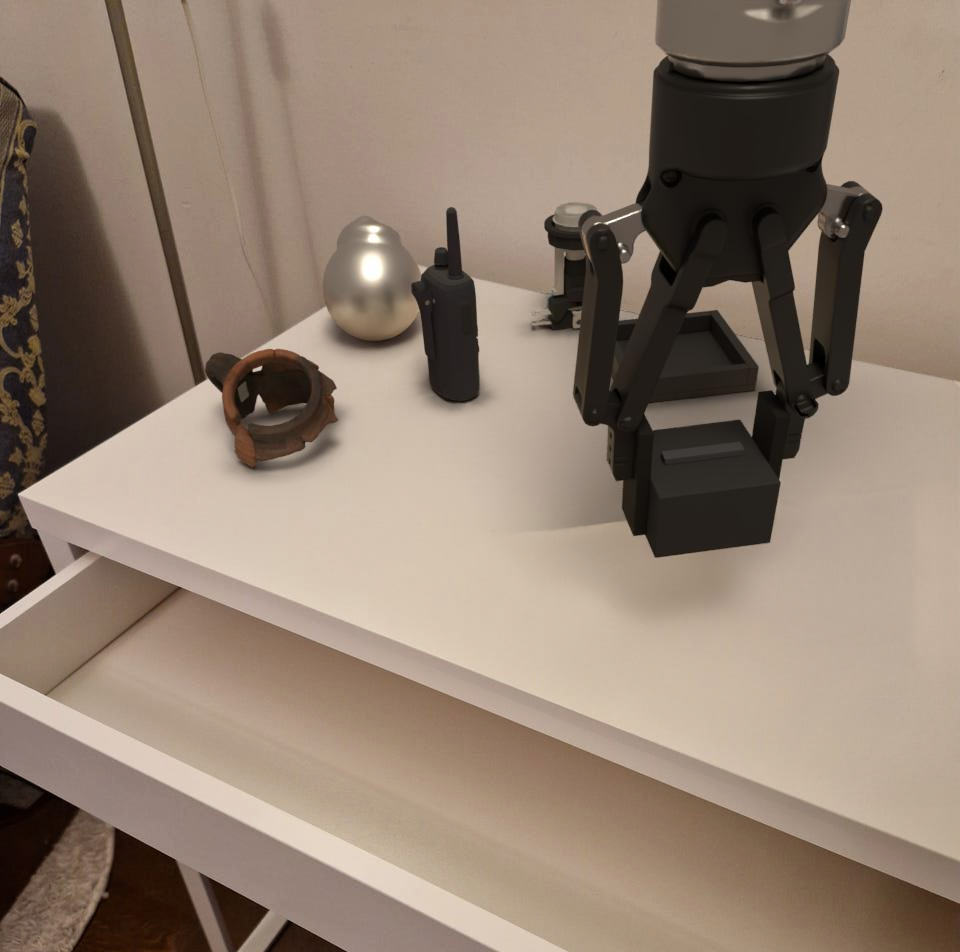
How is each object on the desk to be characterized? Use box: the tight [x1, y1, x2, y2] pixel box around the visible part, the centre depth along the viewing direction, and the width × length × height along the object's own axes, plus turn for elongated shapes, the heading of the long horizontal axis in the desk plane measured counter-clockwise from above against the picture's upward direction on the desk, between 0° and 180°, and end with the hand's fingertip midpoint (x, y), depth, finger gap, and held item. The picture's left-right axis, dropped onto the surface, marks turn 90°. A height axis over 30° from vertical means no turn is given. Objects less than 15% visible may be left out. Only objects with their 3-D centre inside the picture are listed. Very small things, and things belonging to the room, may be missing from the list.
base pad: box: [611, 309, 760, 403], centre depth 83 cm, size 11×11×2 cm
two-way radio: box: [411, 206, 481, 402], centre depth 78 cm, size 6×4×15 cm
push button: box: [530, 201, 603, 331], centre depth 88 cm, size 7×5×10 cm
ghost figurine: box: [321, 215, 422, 342], centre depth 88 cm, size 9×10×10 cm
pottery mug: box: [204, 348, 339, 468], centre depth 77 cm, size 12×10×8 cm
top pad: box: [644, 419, 782, 559], centre depth 56 cm, size 6×6×4 cm
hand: (696, 512), depth 57 cm, fingers closed on top pad, 6 cm apart
